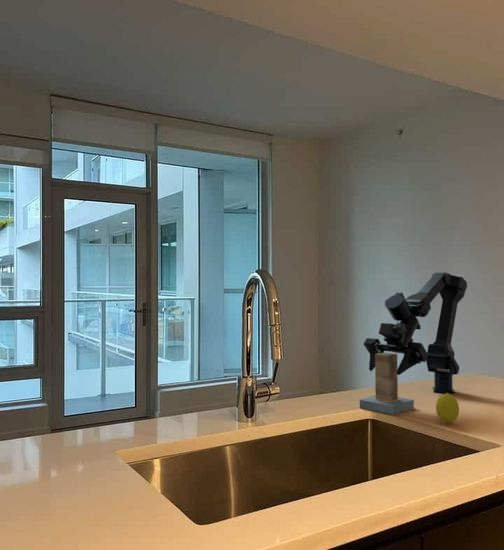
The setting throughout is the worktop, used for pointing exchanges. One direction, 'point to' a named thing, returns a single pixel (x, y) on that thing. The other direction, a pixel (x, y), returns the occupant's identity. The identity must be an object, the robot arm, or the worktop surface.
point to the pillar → (386, 376)
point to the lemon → (447, 408)
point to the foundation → (387, 405)
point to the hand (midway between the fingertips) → (383, 372)
